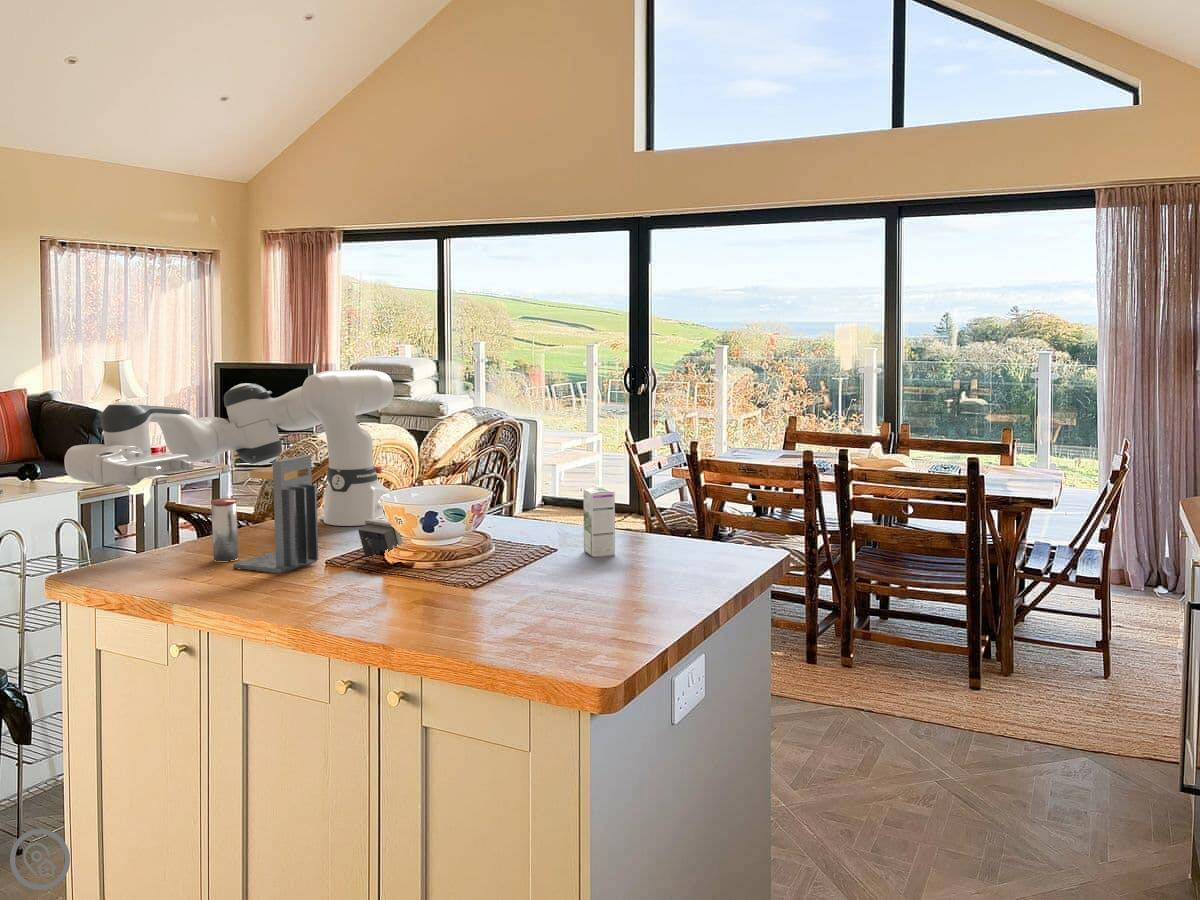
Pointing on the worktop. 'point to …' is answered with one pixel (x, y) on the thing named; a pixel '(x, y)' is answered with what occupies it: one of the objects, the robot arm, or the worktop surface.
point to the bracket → (289, 517)
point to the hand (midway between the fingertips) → (175, 468)
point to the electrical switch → (378, 537)
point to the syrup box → (599, 522)
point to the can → (224, 529)
